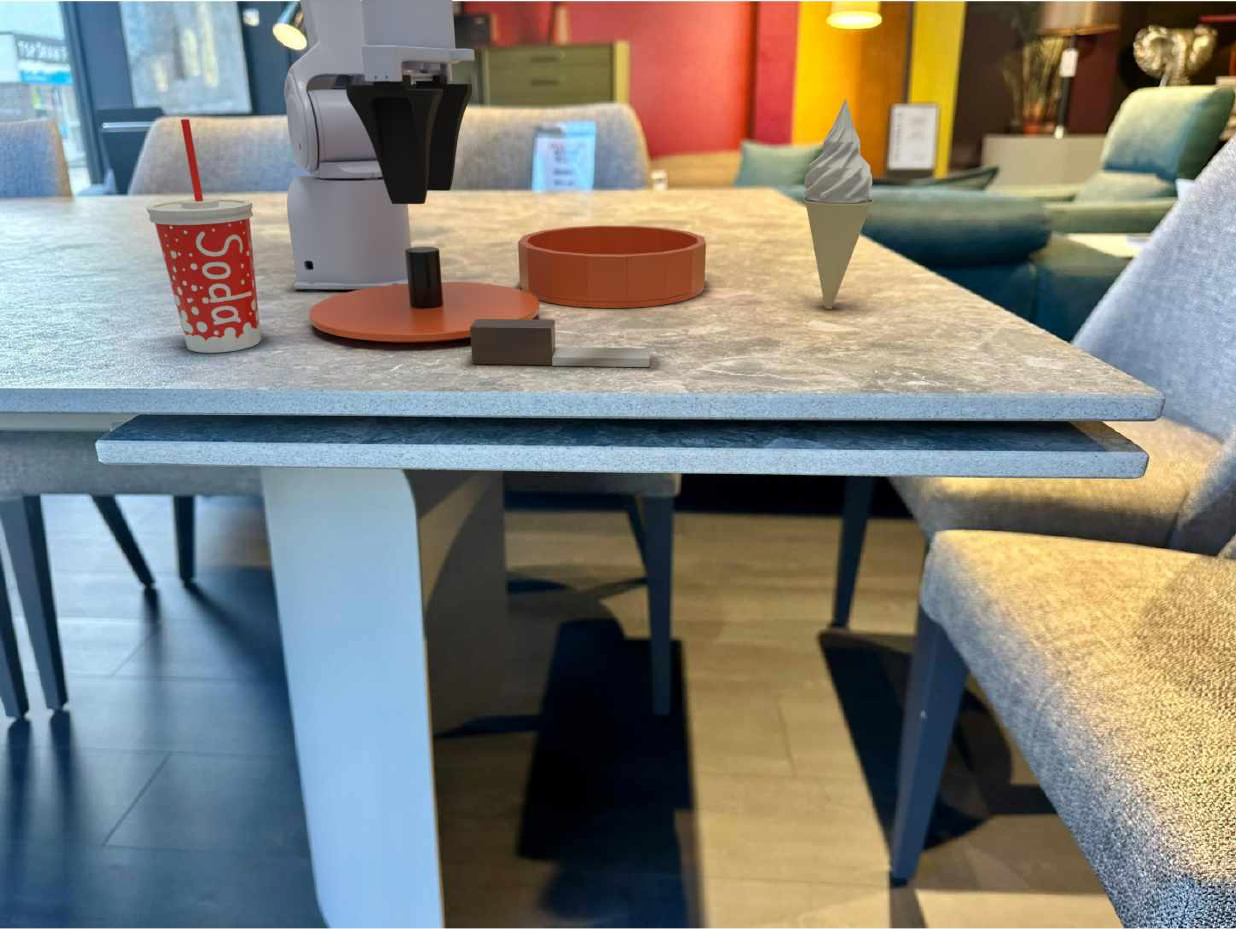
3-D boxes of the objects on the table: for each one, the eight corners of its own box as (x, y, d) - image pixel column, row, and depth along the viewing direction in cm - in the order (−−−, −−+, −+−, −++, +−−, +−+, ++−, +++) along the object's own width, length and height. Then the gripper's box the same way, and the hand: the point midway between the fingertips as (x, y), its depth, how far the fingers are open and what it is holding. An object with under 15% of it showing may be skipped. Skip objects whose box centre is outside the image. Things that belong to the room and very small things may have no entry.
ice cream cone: (782, 304, 71) (797, 98, 65) (837, 299, 73) (856, 97, 67) (817, 318, 67) (836, 99, 61) (875, 313, 68) (899, 99, 62)
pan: (508, 307, 70) (505, 255, 69) (534, 268, 84) (533, 224, 83) (707, 309, 69) (709, 256, 68) (700, 270, 84) (701, 226, 82)
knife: (471, 364, 56) (469, 326, 55) (478, 355, 58) (476, 318, 57) (649, 367, 55) (650, 329, 55) (650, 357, 58) (650, 320, 57)
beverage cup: (169, 359, 57) (121, 122, 51) (178, 336, 62) (135, 118, 57) (273, 350, 59) (237, 120, 53) (272, 328, 64) (240, 116, 59)
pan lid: (273, 349, 59) (262, 270, 57) (353, 294, 74) (345, 230, 72) (522, 352, 59) (519, 273, 57) (552, 296, 74) (550, 232, 72)
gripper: (441, -43, 50) (458, 210, 55) (488, -17, 63) (498, 185, 69) (315, -42, 50) (344, 210, 56) (389, -17, 64) (406, 185, 69)
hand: (423, 196), depth 62 cm, fingers open, 7 cm apart
